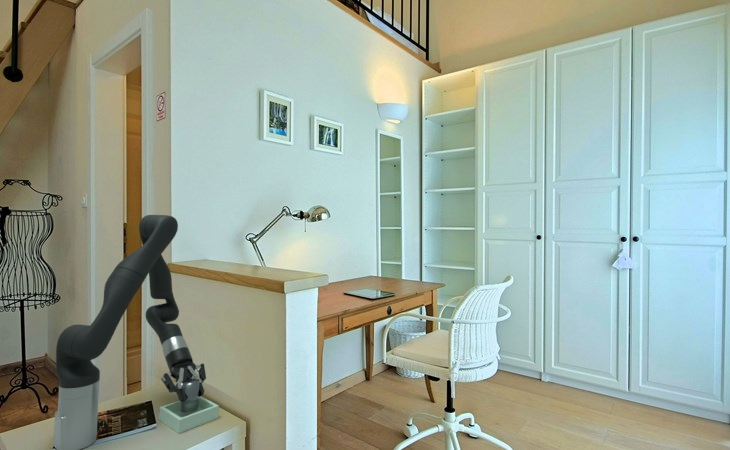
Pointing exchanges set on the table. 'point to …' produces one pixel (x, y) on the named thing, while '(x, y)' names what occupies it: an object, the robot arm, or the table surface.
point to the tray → (188, 415)
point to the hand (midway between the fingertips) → (193, 397)
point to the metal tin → (190, 395)
